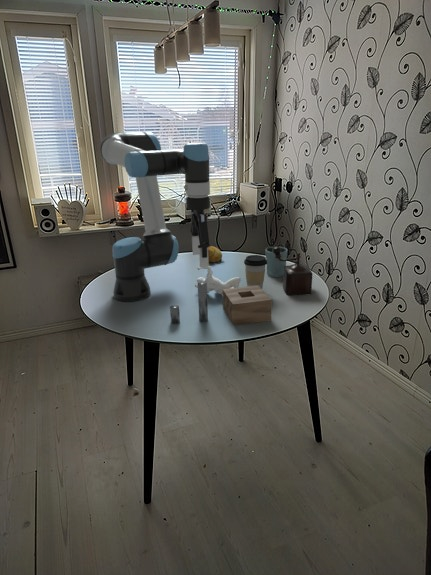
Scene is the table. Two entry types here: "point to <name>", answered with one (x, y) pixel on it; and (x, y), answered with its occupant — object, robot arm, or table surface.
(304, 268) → the manual coffee grinder
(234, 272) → the table surface
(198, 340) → the table surface
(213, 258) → the bread roll
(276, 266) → the light blue mug
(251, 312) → the pin block
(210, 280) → the person figurine
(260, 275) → the coffee cup
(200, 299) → the long pin
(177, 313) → the short pin
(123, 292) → the robot arm
